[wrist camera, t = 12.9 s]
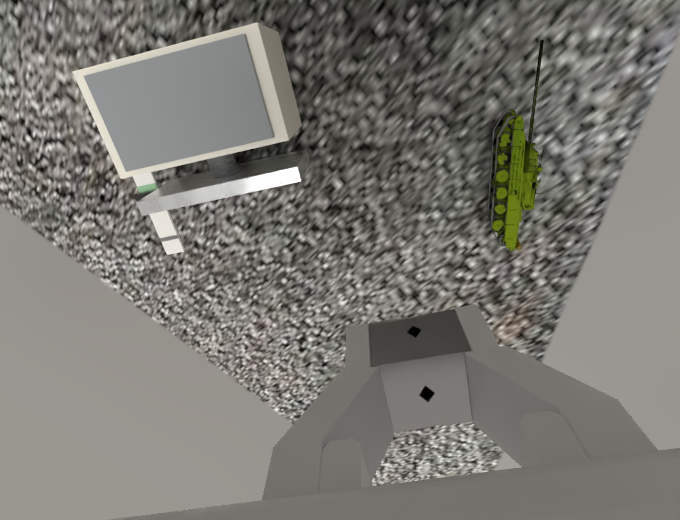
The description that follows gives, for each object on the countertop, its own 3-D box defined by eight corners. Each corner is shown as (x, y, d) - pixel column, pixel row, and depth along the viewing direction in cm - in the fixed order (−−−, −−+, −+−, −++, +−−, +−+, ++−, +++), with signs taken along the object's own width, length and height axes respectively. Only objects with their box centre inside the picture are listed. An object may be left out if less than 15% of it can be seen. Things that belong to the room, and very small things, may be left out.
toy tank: (469, 257, 39) (586, 259, 37) (480, 32, 31) (630, 16, 29) (466, 230, 45) (567, 230, 43) (475, 37, 38) (598, 24, 35)
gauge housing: (93, 80, 38) (17, 85, 30) (278, 32, 36) (255, 21, 27) (168, 253, 46) (125, 297, 37) (326, 221, 44) (319, 260, 35)
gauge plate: (89, 83, 38) (28, 87, 31) (278, 34, 36) (260, 26, 29) (140, 198, 43) (97, 225, 35) (310, 160, 40) (301, 181, 33)
